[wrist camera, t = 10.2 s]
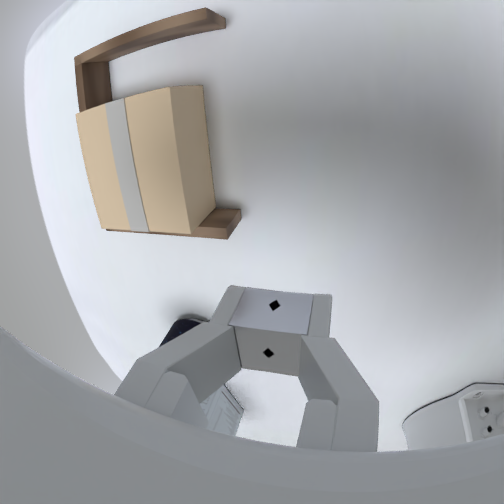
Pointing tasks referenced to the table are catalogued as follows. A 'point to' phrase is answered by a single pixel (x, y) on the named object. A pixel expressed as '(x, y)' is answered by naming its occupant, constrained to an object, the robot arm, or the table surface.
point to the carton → (149, 160)
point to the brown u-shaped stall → (99, 92)
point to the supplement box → (222, 412)
